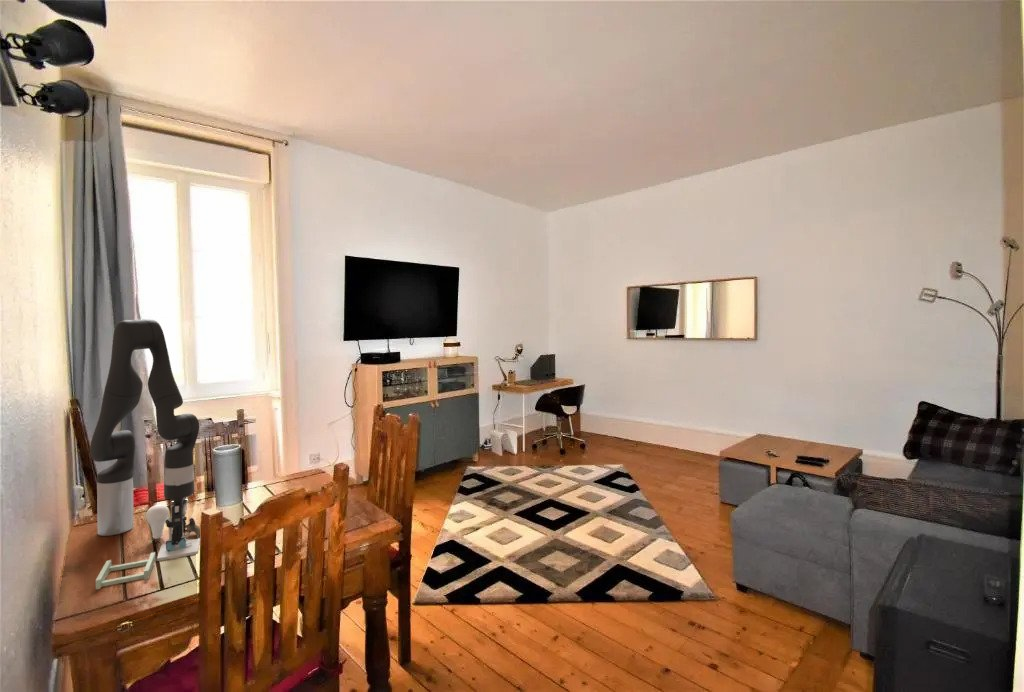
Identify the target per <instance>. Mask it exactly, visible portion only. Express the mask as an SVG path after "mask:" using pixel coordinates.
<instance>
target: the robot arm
mask: <svg viewBox="0 0 1024 692" xmlns="http://www.w3.org/2000/svg"><path fill="white" fill-rule="evenodd" d="M165 338H166V337H165V334H164V331H163V328H162V326H161V325H160V323H159V322H158V321H157V320H156V319H149V318H148V319H145V318H142V319H125V320H121V321H118V322H117V324H116V326H115V327H114V330H113V337H112V347H111V356H110V357H111V358H110V364H109V365H110V366H109V370H108V374H107V378H106V382H105V387H104V391H103V396H102V403H101V406H100V413H99V416H98V420H97V423H96V426H95V428H94V430H93V431H94V432H93V434H92V437H91V441H90V446H89V454H90V458H91V459H92V461H94V462H97V463H101V462H109V461H114V460H115V463H113V464H112V465H110V466H109V467H107V468H104V469H102V470H101V471H99V472H98V474H96V475H97V476H96V481H97V482H96V495H97V496H96V497H97V499H96V501H97V503H96V505H97V507H96V508H97V509H96V511H97V512H96V513H97V521H96V522H97V535H98V536H103V537H104V536H105V537H107V536H109V537H110V536H114V535H119V534H124V533H126V532H129V531H131V530H132V529H133V528H134V469H135V451H136V439H135V435H134V434H133V432H132V431H131V430H128V429H124V430H123V429H121V430H117V431H115V429H116V428H117V426H118V424H120V423H121V422H122V421H123V420H124V419H125V418H126V417H127V416H128V415H130V414H131V413H132V412H133V411H134V410H135V409H136V407H137V406H138V405H139V404H140V400H141V396H142V392H143V387H144V386H143V385H144V384H143V381H142V378H141V377H140V375H139V374H138V372H137V371H136V370H135V368H134V367H133V365H132V354H133V352H134V351H135V350H137V351H138V350H147V349H149V352H150V353H151V355H152V366H151V370H150V373H149V376H148V381H147V389H148V391H149V395H150V397H151V400H152V402H153V404H154V407H155V417H156V418H155V420H156V430H157V433H158V435H159V436H160V437H161V438H163V440H165V441H175V440H176V442H175V443H174V444H173V445H172V446H169V447H168V448H166V450H165V452H164V473H163V497H164V498H165V499H167V500H172V501H171V504H170V511H171V512H170V516H171V518H172V524H171V526H172V527H173V528H172V530H173V538H174V539H177V538H181V537H182V536H183V535H184V533H183V527H185V524H184V525H183V518H184V517H186V515H187V511H188V503H189V502H188V501H189V500H188V499H187V498H188V497H190V496H192V495H193V494H194V493H195V468H194V449H195V446H196V443H197V439H198V435H199V433H200V421H199V419H198V417H197V416H196V415H195V414H193V413H182V414H178V415H175V410H177V409H178V408H180V407H182V405H183V403H184V400H183V397H182V395H181V392H180V389H179V386H178V385H177V382H176V380H175V377H174V374H173V371H172V367H171V361H170V355H169V352H168V347H167V342H166V339H165ZM178 518H180V521H179V522H175V519H178Z"/></svg>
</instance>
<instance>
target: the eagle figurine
mask: <svg viewBox="0 0 1024 692" xmlns="http://www.w3.org/2000/svg"><path fill="white" fill-rule="evenodd" d="M188 521H189V523H187V522H186V521H185V527H183V535H185V539H186V540H187V538H189V537H190V534H191V533H195V534H196V537H197V539H199V538H200V527H201V526H197V525H196V521H195V519H194V518H193V517H188ZM200 539H201V538H200Z"/></svg>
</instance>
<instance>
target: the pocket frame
mask: <svg viewBox="0 0 1024 692" xmlns="http://www.w3.org/2000/svg"><path fill="white" fill-rule="evenodd" d="M155 562H156V551H154V552H153V551H152V552H150V554H149V557H148V559H143V560H138V561H133V562H132V561H131V562H127V563H121V564H114V565H112V559H109V560H106V561H105V563H104V565H103V566H102V568H101V569H100V572H99V573H98V576H97V577H96V578H95V590H101V588H102V587H108V586H112V585H118V584H121V583H123V584H124V583H128V582H133V581H137V580H143V581H146V580H149V579H150V576H151V573H152V570H153V568H154V565H155ZM143 566H145V568H144V569H143V572H142V573H137V574H131V575H126V576H121V577H115V578H111V579H107V577H108V575H109V574H110V572H116V571H120V570H126V569H132V568H137V567H143Z"/></svg>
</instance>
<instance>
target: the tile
mask: <svg viewBox="0 0 1024 692" xmlns="http://www.w3.org/2000/svg"><path fill="white" fill-rule="evenodd" d="M190 540H191V541H188V542H186V543H190V542H192V543H191V544H188V545H186V547H185V548H181V549H178V550H173V551H170V552H168V551H167V550H166V543H165V544H161V546H160V548H159V552H158V554H157V558H156V562H159V561H165V560H171V559H177V558H182V557H188V556H193V555H198V554H199V551H200V550H199V549H200V545H201V538H195V539H190Z"/></svg>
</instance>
